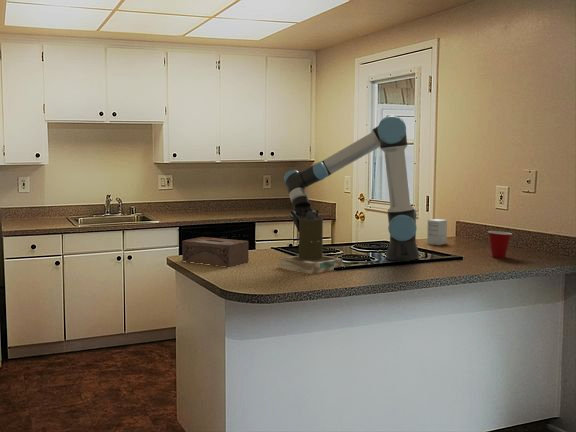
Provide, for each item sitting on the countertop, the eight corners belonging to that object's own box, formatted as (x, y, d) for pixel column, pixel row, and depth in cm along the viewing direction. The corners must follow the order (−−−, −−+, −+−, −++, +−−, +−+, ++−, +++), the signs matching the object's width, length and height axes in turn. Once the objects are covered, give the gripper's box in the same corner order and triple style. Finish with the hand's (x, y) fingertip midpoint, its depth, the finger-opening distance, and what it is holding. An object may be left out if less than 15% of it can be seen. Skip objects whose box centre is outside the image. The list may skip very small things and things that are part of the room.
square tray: (311, 262, 312) (311, 253, 312) (344, 268, 298) (344, 258, 297) (277, 267, 299) (277, 258, 298) (310, 274, 284) (310, 264, 284)
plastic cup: (516, 258, 322) (517, 232, 320) (497, 259, 318) (498, 233, 316) (500, 254, 332) (501, 229, 330) (482, 256, 327) (482, 230, 326)
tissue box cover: (182, 262, 312) (182, 240, 311) (202, 258, 325) (202, 236, 324) (229, 268, 299) (229, 245, 298) (248, 263, 311) (248, 241, 310)
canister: (325, 257, 301) (325, 210, 299) (319, 261, 291) (320, 213, 289) (300, 255, 304) (300, 210, 302) (294, 259, 294) (294, 212, 292)
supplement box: (435, 242, 371) (436, 218, 369) (447, 243, 365) (447, 219, 364) (426, 243, 366) (427, 219, 365) (438, 245, 360) (438, 221, 359)
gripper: (313, 205, 312) (328, 247, 299) (281, 206, 307) (295, 249, 293) (318, 194, 307) (333, 237, 293) (285, 195, 302) (299, 239, 288)
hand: (314, 243), depth 293 cm, fingers closed on canister, 2 cm apart
